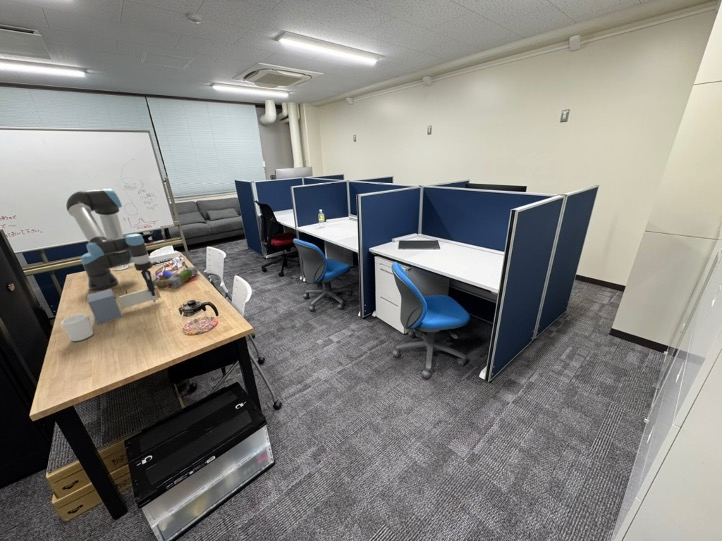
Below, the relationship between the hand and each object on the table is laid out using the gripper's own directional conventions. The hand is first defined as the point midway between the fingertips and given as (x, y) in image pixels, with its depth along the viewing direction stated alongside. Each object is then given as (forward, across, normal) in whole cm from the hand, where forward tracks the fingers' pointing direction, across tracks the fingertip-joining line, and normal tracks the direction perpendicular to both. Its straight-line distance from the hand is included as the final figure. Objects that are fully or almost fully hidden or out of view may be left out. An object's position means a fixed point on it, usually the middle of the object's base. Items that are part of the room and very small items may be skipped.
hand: (154, 299), depth 169 cm
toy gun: (+3, -26, +16) cm, 30 cm away
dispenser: (+2, 0, -22) cm, 22 cm away
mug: (+2, +15, -32) cm, 35 cm away
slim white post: (0, 0, -6) cm, 6 cm away
